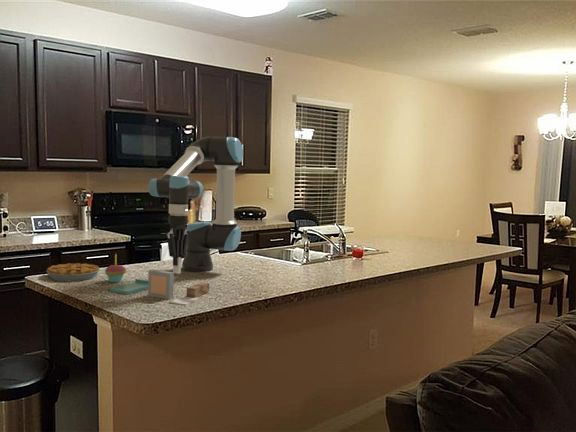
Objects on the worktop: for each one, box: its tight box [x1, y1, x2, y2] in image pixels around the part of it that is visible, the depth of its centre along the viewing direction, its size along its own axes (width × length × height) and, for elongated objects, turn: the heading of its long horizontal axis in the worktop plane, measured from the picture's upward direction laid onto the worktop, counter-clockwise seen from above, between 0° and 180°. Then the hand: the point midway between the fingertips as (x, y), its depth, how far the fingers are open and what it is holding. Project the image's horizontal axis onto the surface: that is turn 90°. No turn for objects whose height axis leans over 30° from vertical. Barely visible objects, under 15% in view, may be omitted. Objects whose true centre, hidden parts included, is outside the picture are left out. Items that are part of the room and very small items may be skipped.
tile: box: [147, 269, 175, 300], centre depth 203 cm, size 3×10×10 cm, turn 66°
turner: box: [169, 281, 210, 306], centre depth 204 cm, size 22×7×4 cm, turn 162°
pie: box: [46, 262, 100, 282], centre depth 232 cm, size 22×22×5 cm
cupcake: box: [104, 254, 127, 283], centre depth 226 cm, size 9×8×12 cm
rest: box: [109, 278, 148, 295], centre depth 214 cm, size 16×9×2 cm, turn 156°
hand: (176, 273), depth 212 cm, fingers closed
